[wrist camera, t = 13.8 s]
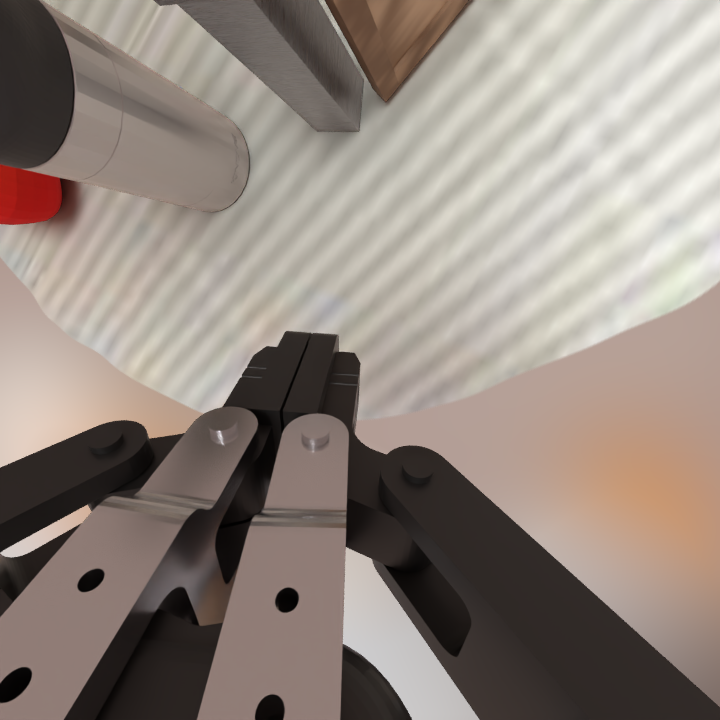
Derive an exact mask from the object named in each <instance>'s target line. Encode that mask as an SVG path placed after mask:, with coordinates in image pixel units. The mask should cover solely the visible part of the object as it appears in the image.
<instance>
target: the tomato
mask: <svg viewBox="0 0 720 720" xmlns="http://www.w3.org/2000/svg"><path fill="white" fill-rule="evenodd" d="M61 203H62V190H61V183H60V178H59V177H54V176H50V175H46V174H41V173H37V172H33V171H28V170H24V169H20V168H14V167H10V166H5V165H1V164H0V224H9V225H16V224H29V223H36V222H41V221H46V220H48V219H50V218H51V217H53V216H54V215H55V214H56V213H58V211H59V209H60V206H61Z"/></svg>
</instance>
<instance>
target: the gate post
mask: <svg viewBox="0 0 720 720" xmlns="http://www.w3.org/2000/svg"><path fill="white" fill-rule="evenodd" d="M154 1H155V2H156V3H158V4H159V5H160V6H163V5H173V4H178V5H179V6H180V7H181V8H182V9H183V10H184V11H185V12H186V13H188V14H189V15H190V16H191V17H192V18H193V19H194V20H195V21H196V22H197V23H199V24H200V25H201V26H202V27H203V28H204V29H205V30H206V31H207V32H209V33H210V34H211V35H212V36H213V37H214V38H215V39H216V40H217V41H218V42H220V43H221V44H222V45H223V46H224V47H225V48H226V49H227V50H228V51H229V52H231V53H232V54H233V55H234V56H235V57H236V58H237V59H238V60H239V61H240V62H242V63H243V64H244V65H245V66H246V67H247V68H248V69H249V70H250V71H251V72H253V73H254V74H255V75H256V76H257V77H258V78H259V79H260V80H261V81H263V82H264V83H265V84H266V85H267V86H268V87H269V88H270V89H271V90H272V91H274V92H275V93H276V94H277V95H278V96H279V97H280V98H281V99H282V100H283V101H285V102H286V103H287V104H288V105H289V106H290V107H291V108H292V109H293V110H294V111H296V112H297V113H298V114H299V115H300V116H301V117H302V118H303V119H304V120H306V121H307V122H308V123H309V124H310V125H311V126H312V127H313V128H314V129H315V130H317V131H345V132H359V128H360V116H361V105H362V93H363V81H364V79H363V78H362V76H361V74H360V72H359V71H358V69H357V67H356V65H355V64H354V62H353V60H352V58H351V57H350V55H349V53H348V51H347V50H346V48H345V46H344V44H343V43H342V41H341V39H340V37H339V36H338V34H337V32H336V30H335V29H334V27H333V25H332V23H331V21H330V20H329V18H328V16H327V14H326V13H325V11H324V9H323V7H322V6H321V4H320V2H319V0H154Z"/></svg>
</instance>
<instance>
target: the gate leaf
mask: <svg viewBox="0 0 720 720" xmlns="http://www.w3.org/2000/svg"><path fill="white" fill-rule="evenodd" d="M468 1H469V0H325V2H326V4H327V5H328V7H329V9H330V11H331V13H332V15H333V16H334V18H335V20H336V22H337V24H338V26H339V27H340V29H341V31H342V33H343V35H344V37H345V38H346V40H347V42H348V44H349V46H350V48H351V49H352V51H353V53H354V55H355V57H356V59H357V60H358V62H359V64H360V66H361V68H362V70H363V71H364V73H365V75H366V77H367V79H368V80H369V82H370V84H371V86H372V88H373V89H374V90H375V91H376V92H377V94H378V95H379V96H380V97H381V98H382V99H383V100H384V101H385V102H387V100H388V99H389V98H390V97H391V96H392V94H393V93H394V92H395V91H396V89H397V88H398V87H399V86H400V84H401V83H402V82H403V81H404V80H405V78H406V77H407V76H408V75H409V73H410V72H411V71H412V70H413V69H414V67H415V66H416V65H417V64H418V62H419V61H420V60H421V59H422V57H423V56H424V55H425V54H426V53H427V51H428V50H429V49H430V48H431V46H432V45H433V44H434V43H435V42H436V40H437V39H438V38H439V37H440V35H441V34H442V33H443V32H444V30H445V29H446V28H447V27H448V26H449V24H450V23H451V22H452V21H453V19H454V18H455V17H456V16H457V15H458V13H459V12H460V11H461V10H462V8H463V7H464V6H465V5H466V3H467V2H468Z"/></svg>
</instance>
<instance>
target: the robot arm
mask: <svg viewBox="0 0 720 720" xmlns="http://www.w3.org/2000/svg"><path fill="white" fill-rule="evenodd" d="M0 164H1V165H5V166H10V167H14V168H20V169H24V170H28V171H33V172H37V173H41V174H46V175H50V176H54V177H59V178H63V179H68V180H73V181H77V182H81V183H86V184H90V185H94V186H99V187H103V188H107V189H112V190H116V191H120V192H124V193H129V194H133V195H137V196H142V197H146V198H150V199H155V200H159V201H163V202H168V203H172V204H176V205H180V206H184V207H188V208H193V209H197V210H201V211H207V212H215V211H221V210H223V209H225V208H227V207H229V206H230V205H231V204H233V203H234V202H235V201H236V200H237V198H238V197H239V196H240V194H241V193H242V191H243V189H244V187H245V184H246V181H247V177H248V171H249V155H248V150H247V146H246V142H245V140H244V138H243V136H242V133H241V132H240V130H239V129H238V128H237V126H236V125H235V124H234V123H233V122H232V121H231V120H230V119H229V118H227V117H226V116H224V115H222V114H221V113H219V112H218V111H216V110H214V109H213V108H211V107H210V106H208V105H207V104H205V103H203V102H202V101H201V100H199V99H198V98H196V97H194V96H193V95H191V94H190V93H188V92H186V91H185V90H183V89H182V88H180V87H179V86H177V85H175V84H174V83H172V82H171V81H169V80H167V79H166V78H164V77H163V76H161V75H160V74H158V73H156V72H155V71H153V70H152V69H150V68H148V67H147V66H145V65H144V64H142V63H141V62H139V61H137V60H136V59H134V58H133V57H131V56H129V55H128V54H126V53H125V52H123V51H122V50H120V49H118V48H117V47H115V46H114V45H112V44H110V43H109V42H107V41H106V40H104V39H103V38H101V37H99V36H98V35H96V34H95V33H93V32H92V31H90V30H88V29H87V28H85V27H83V26H82V25H80V24H78V23H77V22H75V21H74V20H72V19H70V18H69V17H67V16H66V15H64V14H63V13H61V12H59V11H58V10H56V9H55V8H53V7H51V6H50V5H48V4H47V3H45V2H44V1H42V0H0ZM359 380H360V362H359V360H358V358H357V356H356V355H355V353H350V352H339V336H338V335H335V334H321V333H313V334H312V333H307V332H293V331H286V332H285V333H284V335H283V337H282V339H281V341H280V343H279V345H278V347H269V346H266V347H265V348H264V349H262V350H261V351H259V352H258V353H256V354H255V355H254V356H253V357H252V359H251V361H250V362H249V364H248V366H247V368H246V369H245V371H244V372H243V374H242V378H240V379H239V381H238V382H237V384H236V386H235V387H234V389H233V391H232V392H231V394H230V396H229V397H228V399H227V401H226V402H225V404H224V406H223V407H222V408H217V409H214V410H211V411H209V412H207V413H205V414H203V415H202V416H200V417H199V418H198V419H196V421H194V423H193V424H192V425H191V426H190V427H189V429H188V430H187V431H186V433H183V434H178V435H172V436H165V437H158V438H151V439H149V437H148V434H147V431H146V429H145V428H144V426H142V425H141V424H139V423H137V422H134V421H127V420H126V421H125V420H123V421H122V420H121V421H113V422H109V423H105V424H102V425H99V426H96V427H94V428H92V429H89V430H87V431H85V432H82V433H80V434H78V435H75V436H73V437H71V438H68V439H66V440H64V441H62V442H59V443H57V444H54V445H52V446H50V447H47V448H45V449H43V450H40V451H38V452H36V453H33V454H31V455H29V456H26V457H24V458H22V459H20V460H17V461H15V462H12V463H10V464H8V465H6V466H3V467H1V468H0V552H2V551H3V550H5V549H6V548H8V547H10V546H12V545H14V544H15V543H17V542H19V541H21V540H22V539H24V538H26V537H28V536H30V535H32V534H33V533H36V532H37V531H39V530H41V529H43V528H45V527H47V526H49V525H50V524H52V523H54V522H56V521H57V520H60V519H62V518H63V517H65V516H67V515H69V514H71V513H73V512H74V511H76V510H78V509H80V508H82V507H84V506H85V505H87V504H88V506H89V508H90V509H91V511H92V512H91V513H90V515H89V516H88V517H87V518H86V519H85V520H84V521H83V523H81V524H79V525H78V526H76V527H74V528H72V529H71V530H69V531H67V532H66V533H64V534H62V535H60V536H58V537H57V538H55V539H53V540H51V541H49V542H48V543H46V544H44V545H42V546H41V547H39V548H37V549H35V550H34V551H32V552H30V553H28V554H25V555H23V556H19V557H14V558H10V557H4V556H2V555H1V554H0V720H412V718H411V717H410V715H409V713H408V711H407V709H406V708H405V706H404V704H403V702H402V701H401V699H400V698H399V696H398V694H397V693H396V692H395V690H394V689H393V688H392V686H391V685H390V683H389V682H388V681H387V679H385V677H384V676H383V675H382V674H381V673H380V672H379V671H378V670H377V668H376V667H375V666H373V665H372V664H371V663H370V662H369V661H368V660H367V659H365V658H364V657H363V656H362V655H360V654H359V653H357V652H355V651H354V650H352V649H351V648H350V647H348V646H346V645H344V644H343V614H344V582H345V549H346V547H347V548H349V549H352V550H354V551H356V552H358V553H360V554H363V555H365V556H367V557H369V558H371V559H372V560H373V564H374V567H375V568H376V570H377V572H378V573H379V575H380V576H381V578H382V579H383V581H384V582H385V583H386V585H387V586H388V588H389V589H390V591H391V592H392V594H393V595H394V596H395V598H396V599H397V601H398V602H399V604H400V605H401V607H402V608H403V610H404V611H405V612H406V614H407V615H408V617H409V618H410V619H411V621H412V623H413V624H414V625H415V627H416V628H417V629H418V631H419V633H420V634H421V635H422V637H423V638H424V640H425V641H426V643H427V644H428V646H429V647H430V649H431V650H432V651H433V653H434V654H435V656H436V657H437V659H438V660H439V661H440V663H441V664H442V666H443V667H444V669H445V670H446V672H447V673H448V674H449V676H450V677H451V679H452V680H453V682H454V683H455V684H456V686H457V687H458V689H459V690H460V692H461V693H462V694H463V696H464V698H465V699H466V700H467V702H468V703H469V705H470V706H471V708H472V709H473V711H474V712H475V714H476V715H477V716H478V718H479V719H480V720H720V707H719V706H718V705H717V704H716V703H714V702H713V701H712V700H711V699H710V698H709V697H708V696H707V695H706V694H705V693H703V692H702V691H701V690H700V689H699V688H698V687H696V685H694V684H693V683H692V682H691V681H690V680H689V679H688V678H687V677H686V676H685V675H683V674H682V673H681V672H680V671H679V670H678V669H677V668H676V667H675V666H673V665H672V664H671V663H670V662H669V661H668V660H667V659H666V658H665V657H663V656H662V655H661V654H660V653H659V652H658V651H657V650H655V648H654V647H652V646H651V645H650V644H649V643H648V642H647V641H646V640H645V639H643V637H641V636H640V635H639V634H638V633H637V632H636V631H635V630H634V629H633V628H631V627H630V626H629V625H628V624H627V623H626V622H624V620H622V619H621V618H620V617H619V616H618V615H617V614H616V613H615V612H614V611H612V610H611V609H610V608H609V607H608V606H607V605H606V604H605V603H604V602H603V601H602V600H600V599H599V598H598V597H597V596H596V595H595V594H594V593H593V592H592V591H590V590H589V589H588V588H587V587H586V586H585V585H584V584H583V583H582V582H581V581H579V580H578V579H577V578H576V577H575V576H574V575H573V574H572V573H570V572H569V571H568V570H567V569H566V568H565V567H564V566H563V565H562V564H561V563H559V562H558V561H557V560H556V559H555V558H554V557H553V556H552V555H551V554H550V553H548V552H547V551H546V550H545V549H544V548H543V547H542V546H541V545H540V544H538V543H537V542H536V541H535V540H534V539H533V538H532V537H531V536H530V535H528V534H527V533H526V532H525V531H524V530H523V529H522V528H521V527H520V526H518V525H517V524H516V523H515V522H514V521H513V520H512V519H511V518H509V516H507V515H506V514H505V513H504V512H503V511H502V510H501V509H500V508H499V507H497V506H496V505H495V504H494V503H493V502H492V501H491V500H490V499H489V498H487V497H486V496H485V495H484V494H483V493H482V492H481V491H480V490H478V489H477V488H476V487H475V486H474V485H473V484H472V483H471V482H470V481H469V480H467V479H466V478H465V477H464V476H463V475H462V474H461V473H460V472H459V471H458V470H456V469H455V468H454V467H453V466H452V465H451V464H450V463H449V462H448V461H447V460H445V459H444V458H443V457H442V456H441V455H439V454H438V453H436V452H434V451H432V450H430V449H428V448H425V447H420V446H403V447H399V448H396V449H394V450H392V451H390V452H389V453H388V454H387V455H386V454H383V453H380V452H377V451H375V450H372V449H370V448H369V447H367V446H365V445H364V444H363V443H361V442H360V440H359V439H358V438H357V437H356V435H355V426H356V418H357V411H358V399H359Z"/></svg>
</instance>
